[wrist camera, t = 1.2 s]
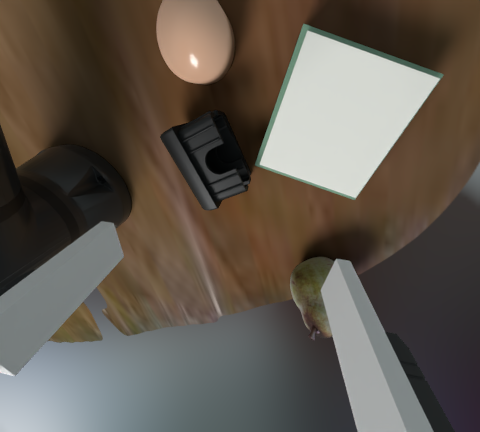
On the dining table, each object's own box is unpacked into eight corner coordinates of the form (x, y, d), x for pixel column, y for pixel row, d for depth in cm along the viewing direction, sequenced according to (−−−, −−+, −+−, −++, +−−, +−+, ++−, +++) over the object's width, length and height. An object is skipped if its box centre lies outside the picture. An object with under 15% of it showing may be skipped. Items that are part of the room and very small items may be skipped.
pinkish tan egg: (170, 73, 23) (154, 70, 20) (176, -10, 19) (158, -30, 16) (226, 93, 23) (218, 92, 20) (243, 14, 19) (237, -2, 16)
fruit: (277, 264, 36) (278, 330, 25) (320, 235, 31) (341, 301, 21) (315, 293, 38) (330, 364, 28) (360, 270, 33) (397, 345, 23)
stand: (256, 158, 26) (254, 167, 23) (299, 34, 19) (304, 20, 16) (346, 189, 27) (356, 202, 23) (420, 78, 20) (450, 73, 16)
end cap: (176, 131, 26) (148, 140, 21) (221, 105, 24) (204, 108, 18) (212, 194, 30) (197, 216, 25) (253, 178, 28) (247, 198, 22)
